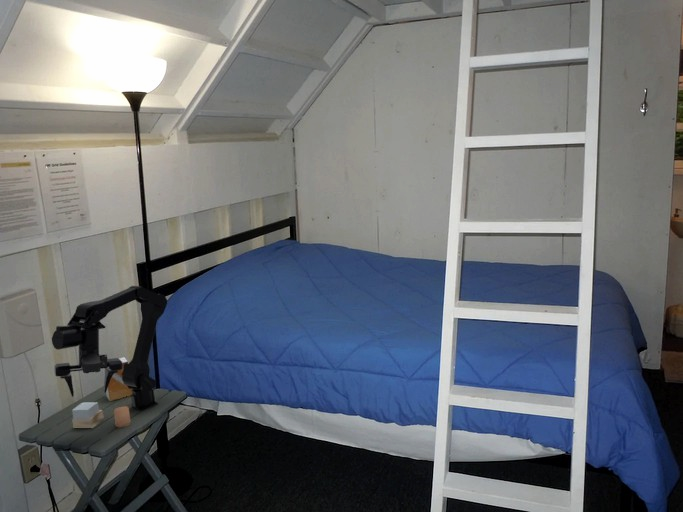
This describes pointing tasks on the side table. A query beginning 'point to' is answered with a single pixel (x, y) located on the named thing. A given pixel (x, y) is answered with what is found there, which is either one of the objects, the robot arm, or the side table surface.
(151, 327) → the robot arm
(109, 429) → the side table surface
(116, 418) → the terracotta rounded cylinder
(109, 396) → the small box
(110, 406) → the side table surface
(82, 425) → the oak base block
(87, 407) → the grey-blue top block
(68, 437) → the side table surface
